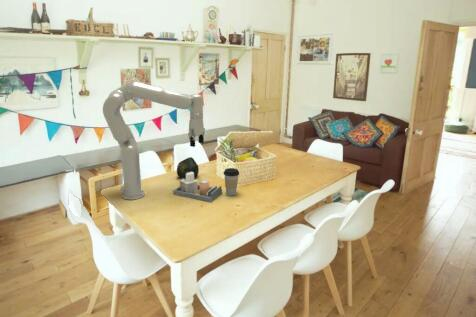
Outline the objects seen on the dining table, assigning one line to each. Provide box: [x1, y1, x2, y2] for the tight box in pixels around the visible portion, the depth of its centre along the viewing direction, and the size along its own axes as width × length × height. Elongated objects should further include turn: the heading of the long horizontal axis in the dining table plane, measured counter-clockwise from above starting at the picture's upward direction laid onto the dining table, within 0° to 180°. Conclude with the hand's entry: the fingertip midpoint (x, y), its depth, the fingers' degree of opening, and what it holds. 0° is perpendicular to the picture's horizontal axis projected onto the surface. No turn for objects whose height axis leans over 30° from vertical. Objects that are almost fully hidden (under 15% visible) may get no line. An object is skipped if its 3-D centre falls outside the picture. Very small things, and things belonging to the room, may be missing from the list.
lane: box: [172, 184, 223, 203], centre depth 191 cm, size 26×14×5 cm, turn 66°
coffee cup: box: [222, 167, 240, 197], centre depth 191 cm, size 9×9×15 cm
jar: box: [199, 179, 210, 197], centre depth 189 cm, size 6×6×9 cm
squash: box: [176, 156, 200, 179], centre depth 216 cm, size 14×15×15 cm
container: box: [179, 171, 199, 194], centre depth 193 cm, size 8×8×13 cm
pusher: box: [206, 185, 218, 197], centre depth 188 cm, size 1×11×5 cm, turn 156°
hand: (197, 144), depth 191 cm, fingers open, 9 cm apart
